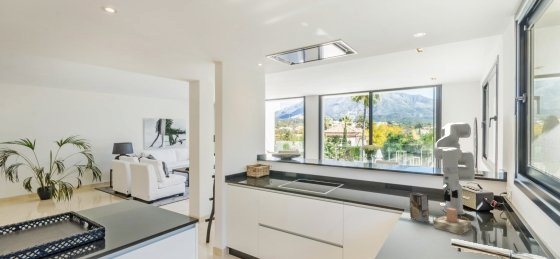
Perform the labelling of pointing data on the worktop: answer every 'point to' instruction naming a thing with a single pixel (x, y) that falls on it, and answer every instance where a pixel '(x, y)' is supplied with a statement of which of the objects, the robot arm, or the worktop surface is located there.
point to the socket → (452, 225)
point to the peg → (451, 215)
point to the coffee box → (419, 207)
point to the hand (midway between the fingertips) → (451, 199)
